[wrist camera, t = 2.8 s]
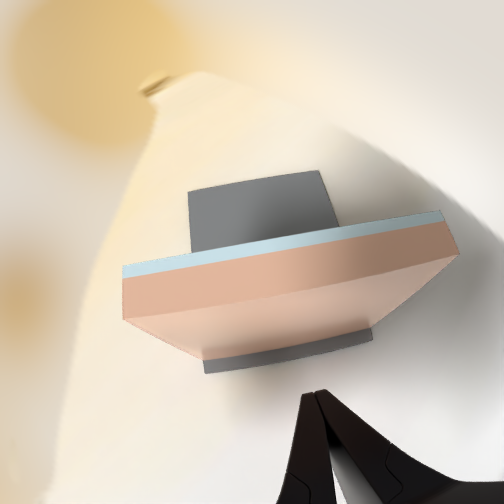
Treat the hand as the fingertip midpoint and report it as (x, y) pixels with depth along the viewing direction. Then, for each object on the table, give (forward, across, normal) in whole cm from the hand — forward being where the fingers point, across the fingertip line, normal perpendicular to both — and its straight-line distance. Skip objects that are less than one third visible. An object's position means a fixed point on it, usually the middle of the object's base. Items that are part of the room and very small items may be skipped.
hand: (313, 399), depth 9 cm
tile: (+7, 0, +2) cm, 8 cm away
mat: (+11, 0, -1) cm, 11 cm away
